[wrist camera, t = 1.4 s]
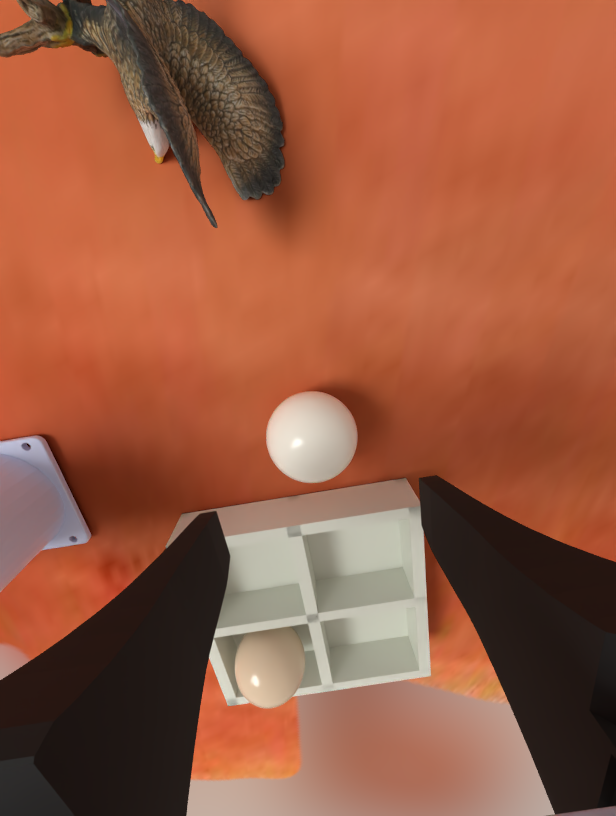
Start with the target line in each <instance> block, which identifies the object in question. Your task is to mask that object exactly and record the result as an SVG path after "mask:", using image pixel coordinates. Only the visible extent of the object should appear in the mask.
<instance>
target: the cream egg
mask: <svg viewBox="0 0 616 816" xmlns="http://www.w3.org/2000/svg"><path fill="white" fill-rule="evenodd" d="M357 440H358V433H357V427H356V423H355V420H354V418H353V416H352V414H351V412H350V411H349V410H348V408H347V407H346V406H345V405H344V404H343V403H342V402H341V401H340V400H338V399H337V398H335V397H333V396H331V395H329V394H327V393H323V392H318V391H306V392H301V393H297V394H294V395H292V396H290V397H288V398H287V399H285V400H284V401H283V402H282V403H281V404H279V406H278V407H277V408H276V409H275V410H274V412H273V413H272V415H271V417H270V420H269V422H268V426H267V431H266V443H267V448H268V452H269V455H270V457H271V459H272V460H273V462H274V464H275V465H276V466H277V467H278V469H279V470H280V471H282V472H283V473H284V474H286V475H287V476H288V477H290V478H292V479H294V480H297V481H300V482H305V483H319V482H324V481H327V480H330V479H332V478H334V477H335V476H337V475H339V474H340V473H341V472H342V471H343V470H344V469H345V468H346V467H347V466H348V465H349V463H350V462H351V460H352V458H353V456H354V454H355V451H356V447H357Z"/></svg>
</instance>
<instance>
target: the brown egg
mask: <svg viewBox="0 0 616 816" xmlns="http://www.w3.org/2000/svg"><path fill="white" fill-rule="evenodd" d="M304 671H305V651H304V647H303V644H302V641H301V639H300V637H299V635H298V634H297V632H296V631H295V630H294V629H293V628H292V627H291V626H288V627H282V628H275V629H269V630H262V631H256V632H249V633H246V634H245V635H244V637H243V638H242V640H241V642H240V644H239V647H238V649H237V652H236V657H235V677H236V681H237V684H238V687H239V689H240V691H241V693H242V694H243V696H244V697H245V698H246V699H247V700H248V701H249V702H250V703H251V704H253V705H255V706H257V707H260V708H267V709H268V708H275V707H278V706H280V705H282V704H284V703H286V702H287V701H288V700H289V699H290V698H291V697H292V696H293V695H294V694H295V693H296V691H297V689H298V688H299V686H300V684H301V681H302V679H303V675H304Z"/></svg>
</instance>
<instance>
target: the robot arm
mask: <svg viewBox="0 0 616 816" xmlns="http://www.w3.org/2000/svg"><path fill="white" fill-rule="evenodd" d="M27 443H28V444H29V445H30V446H31V447H29V446H28V445H27ZM419 490H420V508H421V526H422V528H423V531H424V533H425V536H426V538H427V540H428V543H429V545H430V547H431V550H432V552H433V554H434V556H435V557H436V559H437V561H438V563H439V565H440V566H441V568H442V570H443V572H444V573H445V575H446V577H447V579H448V580H449V582H450V584H451V586H452V587H453V589H454V591H455V593H456V594H457V596H458V598H459V599H460V601H461V603H462V605H463V606H464V608H465V610H466V612H467V613H468V615H469V617H470V619H471V621H472V623H473V625H474V627H475V629H476V631H477V633H478V635H479V637H480V639H481V641H482V643H483V646H484V648H485V650H486V652H487V654H488V656H489V659H490V661H491V663H492V665H493V667H494V670H495V672H496V674H497V676H498V679H499V681H500V683H501V685H502V688H503V690H504V692H505V694H506V697H507V699H508V701H509V704H510V706H511V708H512V710H513V713H514V715H515V718H516V720H517V722H518V725H519V727H520V729H521V732H522V734H523V737H524V739H525V741H526V743H527V746H528V748H529V751H530V753H531V755H532V758H533V760H534V763H535V765H536V768H537V770H538V773H539V775H540V778H541V780H542V783H543V785H544V788H545V790H546V793H547V795H548V798H549V800H550V803H551V805H552V808H553V810H554V813H555V815H548V816H616V562H614V561H611V560H608V559H605V558H602V557H599V556H596V555H593V554H591V553H588V552H585V551H583V550H580V549H577V548H575V547H572V546H569V545H567V544H564V543H562V542H559V541H557V540H555V539H552V538H550V537H548V536H546V535H543V534H541V533H539V532H537V531H534V530H532V529H530V528H528V527H526V526H524V525H522V524H520V523H518V522H516V521H514V520H512V519H510V518H508V517H506V516H504V515H502V514H500V513H498V512H497V511H495V510H493V509H491V508H489V507H488V506H486V505H484V504H483V503H481V502H479V501H477V500H476V499H474V498H472V497H471V496H469V495H468V494H466V493H464V492H463V491H461V490H459V489H458V488H456V487H455V486H453V485H451V484H450V483H448V482H447V481H445V480H443V479H442V478H440V477H438V476H437V475H435V476H429V477H423V478H419ZM75 537H76V538H75ZM90 538H91V533H90V531H89V529H88V527H87V524H86V522H85V520H84V518H83V516H82V514H81V512H80V510H79V508H78V506H77V504H76V502H75V500H74V497H73V495H72V493H71V491H70V489H69V487H68V485H67V483H66V481H65V479H64V477H63V475H62V473H61V471H60V468H59V466H58V464H57V462H56V460H55V458H54V456H53V454H52V452H51V450H50V448H49V446H48V444H47V442H46V440H45V439H44V438H43V437H41V436H37V435H35V436H29V437H23V438H17V439H11V440H5V441H0V592H1V591H2V590H3V589H4V588H5V587H6V586H7V585H8V584H9V583H10V582H11V581H12V580H13V579H14V578H15V577H16V576H17V575H18V574H19V573H20V572H21V571H22V570H23V569H24V568H25V566H26V565H27V564H28V563H29V562H30V561H31V560H32V559H33V558H34V557H35V556H36V555H37V554H38V553H39V552H40V551H41V550H46V549H52V548H59V547H65V546H71V545H77V544H84V543H86V542H88V540H89V539H90ZM229 565H230V553H229V550H228V546H227V543H226V540H225V537H224V533H223V530H222V527H221V524H220V521H219V517H218V514H217V511H212V512H206V513H200V514H199V515H198V516H197V517H196V518H195V519H194V520H193V521H192V522H191V523H190V524H189V525H188V526H187V527H186V528H185V529H184V530H183V531H182V532H181V533H180V535H179V536H178V537H177V538H176V539H175V540H174V541H173V542H172V543H171V544H170V545H169V546H168V547H167V548H166V549H165V550H164V552H163V553H162V554H161V555H160V556H159V557H158V558H157V559H156V560H155V561H154V562H153V563H152V564H151V565H150V566H149V567H148V568H147V569H146V570H145V571H143V572H142V573H141V574H140V575H139V576H138V577H137V578H136V579H135V580H134V581H133V582H132V583H131V584H130V585H129V586H128V587H127V588H126V589H124V590H123V591H122V592H121V593H120V594H119V595H118V596H116V597H115V598H114V599H113V600H112V601H110V602H109V603H108V604H107V605H106V606H105V607H103V608H102V609H101V610H100V611H98V612H97V613H96V614H95V615H93V616H92V617H91V618H89V619H88V620H87V621H85V622H84V623H83V624H81V625H80V626H79V627H77V628H76V629H75V630H74V631H72V632H71V633H70V634H68V635H67V636H66V637H64V638H63V639H62V640H60V641H59V642H57V643H56V644H54V645H53V646H52V647H50V648H49V649H47V650H46V651H44V652H43V653H42V654H40V655H39V656H37V657H36V658H34V659H33V660H31V661H30V662H28V663H27V664H25V665H23V666H22V667H20V668H19V669H17V670H16V671H14V672H13V673H11V674H10V675H8V676H7V677H5V678H3V679H2V680H0V816H186V813H187V803H188V795H189V787H190V779H191V771H192V762H193V754H194V747H195V740H196V732H197V725H198V718H199V711H200V705H201V699H202V692H203V686H204V680H205V674H206V668H207V664H208V659H209V654H210V650H211V647H212V643H213V639H214V635H215V631H216V627H217V623H218V619H219V615H220V611H221V607H222V603H223V599H224V595H225V591H226V587H227V581H228V574H229Z"/></svg>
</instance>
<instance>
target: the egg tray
mask: <svg viewBox="0 0 616 816" xmlns="http://www.w3.org/2000/svg"><path fill="white" fill-rule="evenodd" d="M212 511H217V514H218V517H219V521H220V524H221V527H222V530H223V533H224V537H225V540H226V543H227V546H228V550H229V553H230V565H229V574H228V581H227V587H226V591H225V595H224V599H223V603H222V607H221V611H220V615H219V619H218V623H217V627H216V631H215V635H214V639H213V643H212V647H211V650H210V654H209V658H210V661H211V664H212V666H213V669H214V671H215V674H216V676H217V679H218V681H219V684H220V686H221V689H222V692H223V694H224V697H225V699H226V702H227V704H228V706H233V705H240V704H246V703H250V702H249V701H248V700H247V699H246V698H245V697H244V696H243V694H242V693H241V691H240V689H239V687H238V684H237V681H236V677H235V657H236V652H237V649H238V647H239V644H240V642H241V640H242V638H243V637H244V635H245V634H246V633H249V632H256V631H262V630H269V629H275V628H282V627H288V626H291V627H292V628H293V629H294V630H295V631H296V632H297V634H298V635H299V637H300V639H301V641H302V644H303V647H304V651H305V671H304V675H303V679H302V681H301V684H300V686H299V688H298V689H297V691H296V693H295V694H294V695H293V696H300V695H307V694H313V693H320V692H326V691H333V690H340V689H347V688H353V687H360V686H366V685H374V684H380V683H386V682H394V681H400V680H407V679H414V678H420V677H427V676H431V669H430V650H429V630H428V611H427V591H426V572H425V552H424V533H423V528H422V526H421V508H420V501H419V499H418V498H417V496H416V494H415V493H414V491H413V489H412V487H411V486H410V484H409V482H408V481H407V479H406V478H402V479H396V480H390V481H384V482H377V483H371V484H365V485H359V486H353V487H346V488H340V489H334V490H328V491H322V492H315V493H309V494H303V495H297V496H290V497H284V498H278V499H272V500H266V501H259V502H253V503H247V504H241V505H235V506H228V507H222V508H216V509H210V510H203V511H197V512H191V513H185V514H182V515H181V517H180V519H179V521H178V522H177V524H176V526H175V528H174V530H173V532H172V534H171V536H170V538H169V540H168V542H167V544H166V548H167V547H168V546H169V545H170V544H171V543H172V542H173V541H174V540H175V539H176V538H177V537H178V536H179V535H180V533H181V532H182V531H183V530H184V529H185V528H186V527H187V526H188V525H189V524H190V523H191V522H192V521H193V520H194V519H195V518H196V517H197V516H198V515H199V514H200V513H206V512H212ZM293 696H292V697H293Z"/></svg>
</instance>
